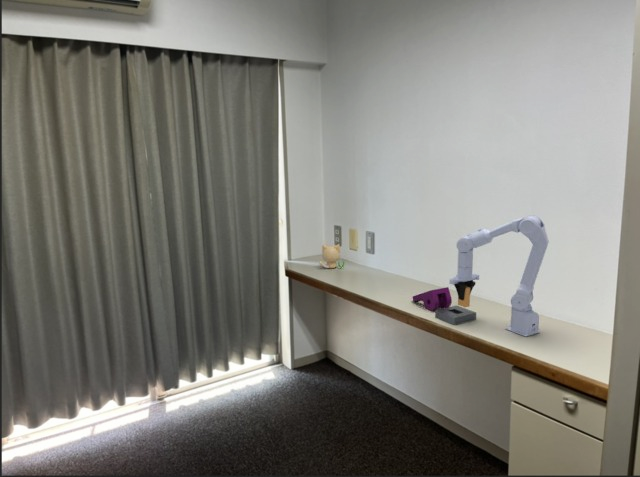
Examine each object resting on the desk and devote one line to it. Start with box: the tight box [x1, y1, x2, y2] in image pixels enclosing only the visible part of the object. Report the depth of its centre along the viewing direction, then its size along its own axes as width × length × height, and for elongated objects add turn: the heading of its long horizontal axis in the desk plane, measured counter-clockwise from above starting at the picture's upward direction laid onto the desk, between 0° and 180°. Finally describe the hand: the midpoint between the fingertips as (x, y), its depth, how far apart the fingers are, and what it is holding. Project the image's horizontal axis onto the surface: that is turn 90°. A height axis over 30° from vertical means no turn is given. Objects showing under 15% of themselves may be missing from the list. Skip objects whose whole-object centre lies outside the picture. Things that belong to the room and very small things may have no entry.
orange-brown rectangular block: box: [457, 286, 471, 308], centre depth 190 cm, size 4×2×8 cm, turn 29°
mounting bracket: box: [412, 286, 452, 312], centre depth 211 cm, size 9×8×18 cm
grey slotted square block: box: [434, 304, 477, 326], centre depth 194 cm, size 11×12×3 cm
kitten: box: [318, 243, 345, 269], centre depth 285 cm, size 15×10×15 cm
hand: (463, 298), depth 190 cm, fingers closed on orange-brown rectangular block, 2 cm apart
